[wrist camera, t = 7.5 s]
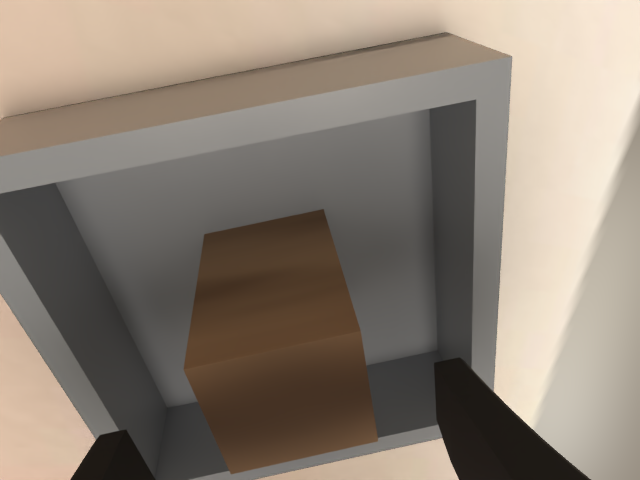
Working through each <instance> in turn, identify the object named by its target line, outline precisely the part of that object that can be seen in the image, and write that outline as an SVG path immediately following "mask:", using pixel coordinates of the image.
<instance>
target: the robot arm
mask: <svg viewBox="0 0 640 480" xmlns="http://www.w3.org/2000/svg"><path fill="white" fill-rule="evenodd" d="M434 375H435V398H436V420H437V423H438V426H439V429H440V432H441V435H442V437H443V440H444V443H445V446H446V449H447V452H448V454H449V457H450V460H451V463H452V465H453V467H454V469H455V472H456V474H457V476H458V478H459V480H591V479H589V478H588V477H587V476H586V475H584V474H583V473H582V472H581V471H580V470H578V469H577V468H576V467H575V466H573V465H572V464H571V463H570V462H569V461H568V460H566V459H565V458H564V457H563V456H562V455H561V454H559V453H558V452H557V451H556V450H555V449H554V448H552V447H551V446H550V445H549V444H548V443H547V442H546V441H545V440H543V439H542V438H541V437H540V436H539V435H538V434H537V433H536V432H535V431H534V430H533V429H531V428H530V427H529V426H528V425H527V424H526V423H525V422H524V421H523V420H522V419H521V418H520V417H519V416H518V415H516V414H515V413H514V412H513V411H512V410H511V409H510V408H509V407H508V406H507V405H506V404H505V403H504V402H503V401H502V400H501V399H500V398H499V397H498V396H497V395H496V394H495V393H494V392H493V391H492V390H491V389H490V388H489V387H488V386H487V385H486V383H485V382H484V381H483V380H482V379H481V378H480V377H479V376H478V375H477V374H476V373H475V372H474V371H473V369H472V368H471V367H470V366H469V365H468V364H467V363H466V362H465V361H464V360H463V359H462V358H460V357H458V358H454V359H449V360H444V361H440V362H435V363H434ZM71 480H156V479H155V478H154V476H153V474H152V473H151V471H150V469H149V467H148V466H147V464H146V462H145V461H144V459H143V457H142V455H141V454H140V452H139V450H138V449H137V447H136V445H135V444H134V442H133V440H132V438H131V437H130V435H129V433H128V432H127V430H126V429H125V430H120V431H116V432H111V433H106V434H102V435H99V437H98V438H97V439H96V441H95V443H94V444H93V446H92V447H91V449H90V450H89V452H88V453H87V455H86V456H85V458H84V459H83V461H82V462H81V464H80V466H79V467H78V469H77V470H76V472H75V473H74V475H73V477H72V478H71Z"/></svg>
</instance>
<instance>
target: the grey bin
mask: <svg viewBox="0 0 640 480" xmlns="http://www.w3.org/2000/svg"><path fill="white" fill-rule="evenodd" d="M511 68H512V56H510V55H507V54H504V53H501V52H499V51H496V50H493V49H491V48H488V47H485V46H482V45H480V44H477V43H474V42H472V41H469V40H466V39H463V38H461V37H458V36H455V35H453V34H450V33H441V34H436V35H431V36H426V37H421V38H415V39H410V40H405V41H400V42H395V43H390V44H384V45H379V46H374V47H369V48H364V49H358V50H353V51H348V52H343V53H338V54H333V55H327V56H322V57H317V58H312V59H307V60H301V61H296V62H291V63H286V64H281V65H275V66H270V67H265V68H260V69H255V70H250V71H244V72H239V73H234V74H229V75H224V76H218V77H213V78H208V79H203V80H198V81H193V82H187V83H182V84H177V85H172V86H167V87H161V88H156V89H151V90H146V91H141V92H136V93H130V94H125V95H120V96H115V97H110V98H104V99H99V100H94V101H89V102H84V103H78V104H73V105H68V106H63V107H58V108H53V109H47V110H42V111H37V112H32V113H27V114H21V115H16V116H11V117H6V118H3V119H1V120H0V294H1V295H2V297H3V298H4V300H5V301H6V303H7V304H8V306H9V307H10V309H11V310H12V312H13V314H14V315H15V317H16V318H17V320H18V321H19V323H20V324H21V326H22V327H23V329H24V330H25V332H26V333H27V335H28V336H29V338H30V339H31V341H32V343H33V344H34V346H35V347H36V349H37V350H38V352H39V353H40V355H41V356H42V358H43V359H44V361H45V362H46V364H47V365H48V367H49V368H50V370H51V372H52V373H53V375H54V376H55V378H56V379H57V381H58V382H59V384H60V385H61V387H62V388H63V390H64V391H65V393H66V394H67V396H68V398H69V399H70V401H71V402H72V404H73V405H74V407H75V408H76V410H77V411H78V413H79V414H80V416H81V417H82V419H83V420H84V422H85V423H86V425H87V427H88V428H89V430H90V431H91V433H92V434H93V436H94V437H95V439H97V438H98V437H99V435H102V434H106V433H111V432H116V431H120V430H125V429H126V430H127V432H128V433H129V435H130V437H131V438H132V440H133V442H134V444H135V445H136V447H137V449H138V450H139V452H140V454H141V455H142V457H143V459H144V461H145V462H146V464H147V466H148V467H149V469H150V471H151V473H152V474H153V476H154V478H155V479H156V480H254V479H258V478H263V477H268V476H272V475H277V474H281V473H286V472H290V471H295V470H299V469H304V468H308V467H313V466H317V465H322V464H326V463H331V462H336V461H340V460H345V459H349V458H354V457H358V456H363V455H367V454H372V453H376V452H381V451H385V450H390V449H394V448H399V447H403V446H408V445H413V444H417V443H422V442H426V441H431V440H435V439H440V438H443V437H442V435H441V432H440V429H439V426H438V423H437V420H436V398H435V375H434V363H435V362H440V361H444V360H449V359H454V358H458V357H460V358H462V359H463V360H464V361H465V362H466V363H467V364H468V365H469V366H470V367H471V368H472V369H473V371H474V372H475V373H476V374H477V375H478V376H479V377H480V378H481V379H482V380H483V381H484V382H485V383H486V385H487V386H488V387H489V388H490V389H491V390H492V391H493V392H494V374H495V356H496V338H497V320H498V302H499V284H500V266H501V248H502V230H503V212H504V194H505V176H506V158H507V140H508V122H509V104H510V86H511ZM322 209H324V212H325V216H326V219H327V222H328V225H329V229H330V232H331V235H332V238H333V242H334V245H335V248H336V252H337V255H338V258H339V261H340V265H341V268H342V271H343V274H344V278H345V281H346V284H347V288H348V291H349V294H350V297H351V301H352V304H353V307H354V310H355V314H356V317H357V320H358V324H359V327H360V330H361V336H362V342H363V348H364V354H365V361H366V367H367V373H368V379H369V386H370V392H371V398H372V404H373V411H374V417H375V423H376V429H377V436H378V442H373V443H369V444H364V445H360V446H355V447H351V448H346V449H342V450H338V451H333V452H329V453H324V454H320V455H315V456H311V457H306V458H302V459H298V460H293V461H289V462H284V463H280V464H275V465H271V466H266V467H262V468H258V469H253V470H249V471H244V472H240V473H235V474H230V471H229V469H228V467H227V465H226V463H225V460H224V458H223V456H222V454H221V452H220V449H219V447H218V445H217V443H216V441H215V438H214V436H213V434H212V432H211V429H210V427H209V425H208V423H207V421H206V418H205V416H204V414H203V412H202V410H201V407H200V405H199V403H198V401H197V399H196V396H195V394H194V392H193V390H192V388H191V385H190V383H189V381H188V379H187V377H186V374H185V372H184V370H183V369H184V362H185V356H186V349H187V343H188V337H189V330H190V324H191V317H192V311H193V304H194V298H195V291H196V285H197V279H198V272H199V266H200V259H201V253H202V246H203V240H204V234H208V233H212V232H217V231H222V230H227V229H231V228H236V227H241V226H246V225H250V224H255V223H260V222H265V221H269V220H274V219H279V218H284V217H288V216H293V215H298V214H303V213H307V212H312V211H317V210H322Z"/></svg>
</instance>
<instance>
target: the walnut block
mask: <svg viewBox="0 0 640 480" xmlns="http://www.w3.org/2000/svg"><path fill="white" fill-rule="evenodd" d="M183 370H184V372H185V374H186V377H187V379H188V381H189V383H190V385H191V388H192V390H193V392H194V394H195V396H196V399H197V401H198V403H199V405H200V407H201V410H202V412H203V414H204V416H205V418H206V421H207V423H208V425H209V427H210V429H211V432H212V434H213V436H214V438H215V441H216V443H217V445H218V447H219V449H220V452H221V454H222V456H223V458H224V460H225V463H226V465H227V467H228V469H229V471H230V474H235V473H240V472H244V471H249V470H253V469H258V468H262V467H266V466H271V465H275V464H280V463H284V462H289V461H293V460H298V459H302V458H306V457H311V456H315V455H320V454H324V453H329V452H333V451H338V450H342V449H346V448H351V447H355V446H360V445H364V444H369V443H373V442H378V436H377V429H376V423H375V417H374V411H373V404H372V398H371V392H370V386H369V379H368V373H367V367H366V361H365V354H364V348H363V342H362V336H361V330H360V327H359V324H358V320H357V317H356V314H355V310H354V307H353V304H352V301H351V297H350V294H349V291H348V288H347V284H346V281H345V278H344V274H343V271H342V268H341V265H340V261H339V258H338V255H337V252H336V248H335V245H334V242H333V238H332V235H331V232H330V229H329V225H328V222H327V219H326V216H325V212H324V209H322V210H317V211H312V212H307V213H303V214H298V215H293V216H288V217H284V218H279V219H274V220H269V221H265V222H260V223H255V224H250V225H246V226H241V227H236V228H231V229H227V230H222V231H217V232H212V233H208V234H204V240H203V246H202V253H201V259H200V266H199V272H198V279H197V285H196V291H195V298H194V304H193V311H192V317H191V324H190V330H189V337H188V343H187V349H186V356H185V362H184V369H183Z"/></svg>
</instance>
